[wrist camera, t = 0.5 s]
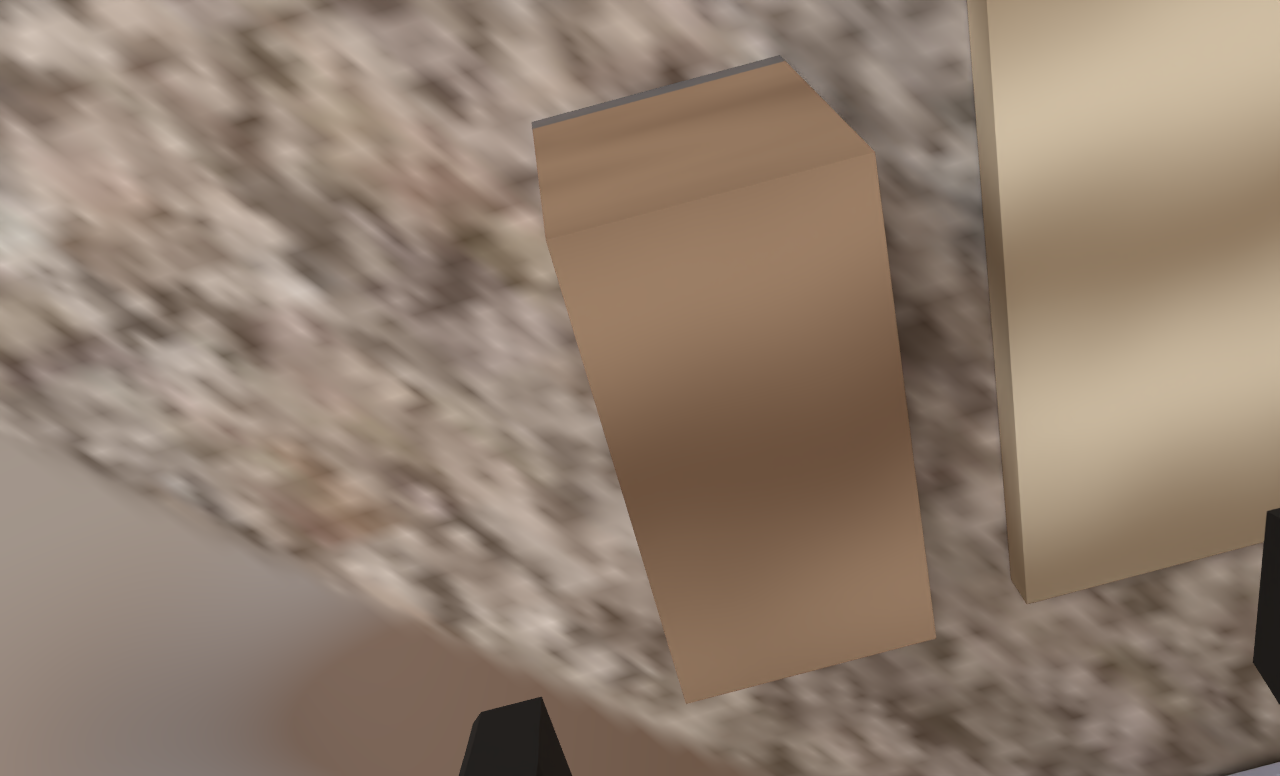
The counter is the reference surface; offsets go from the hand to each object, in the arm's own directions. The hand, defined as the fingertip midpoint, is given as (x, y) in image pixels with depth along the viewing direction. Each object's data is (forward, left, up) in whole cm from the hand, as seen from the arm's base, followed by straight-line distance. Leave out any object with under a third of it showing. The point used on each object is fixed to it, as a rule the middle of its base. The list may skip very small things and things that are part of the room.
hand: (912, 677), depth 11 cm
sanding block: (0, +1, -10) cm, 10 cm away
